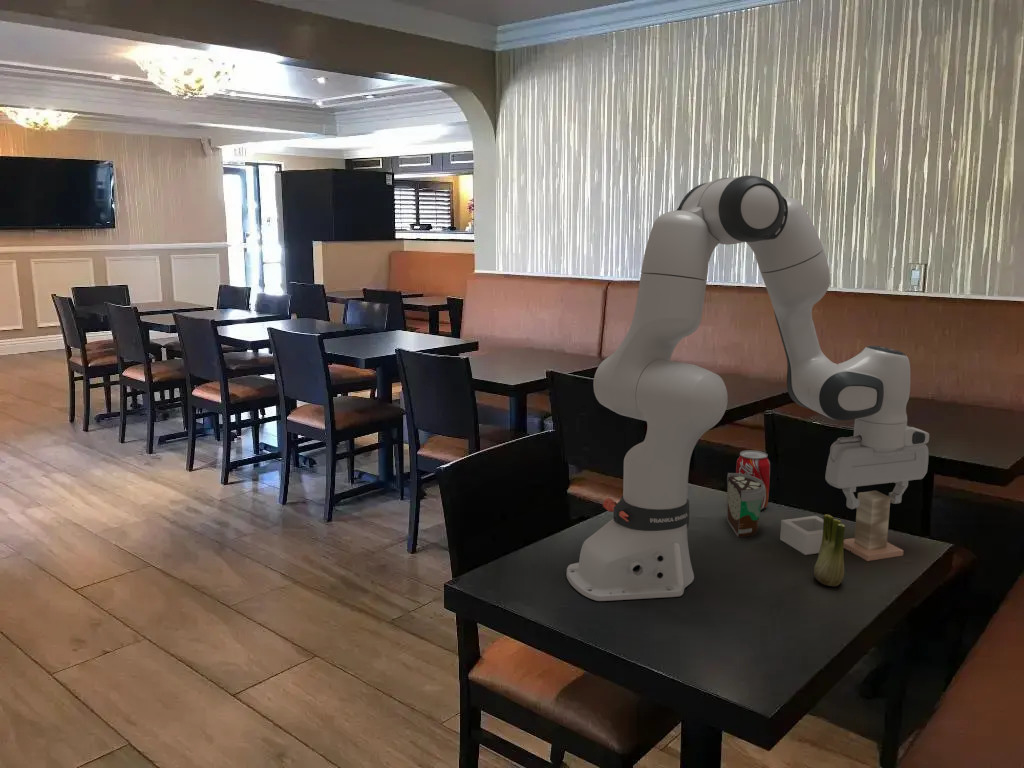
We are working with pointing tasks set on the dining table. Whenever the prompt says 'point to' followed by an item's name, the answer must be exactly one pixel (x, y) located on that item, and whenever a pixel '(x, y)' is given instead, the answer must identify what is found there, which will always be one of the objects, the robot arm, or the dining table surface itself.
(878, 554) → the terracotta tile
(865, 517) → the ash peg
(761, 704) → the dining table surface
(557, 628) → the dining table surface
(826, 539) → the fennel bulb
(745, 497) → the food container
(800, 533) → the pocket collar
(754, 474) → the soda can
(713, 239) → the robot arm
